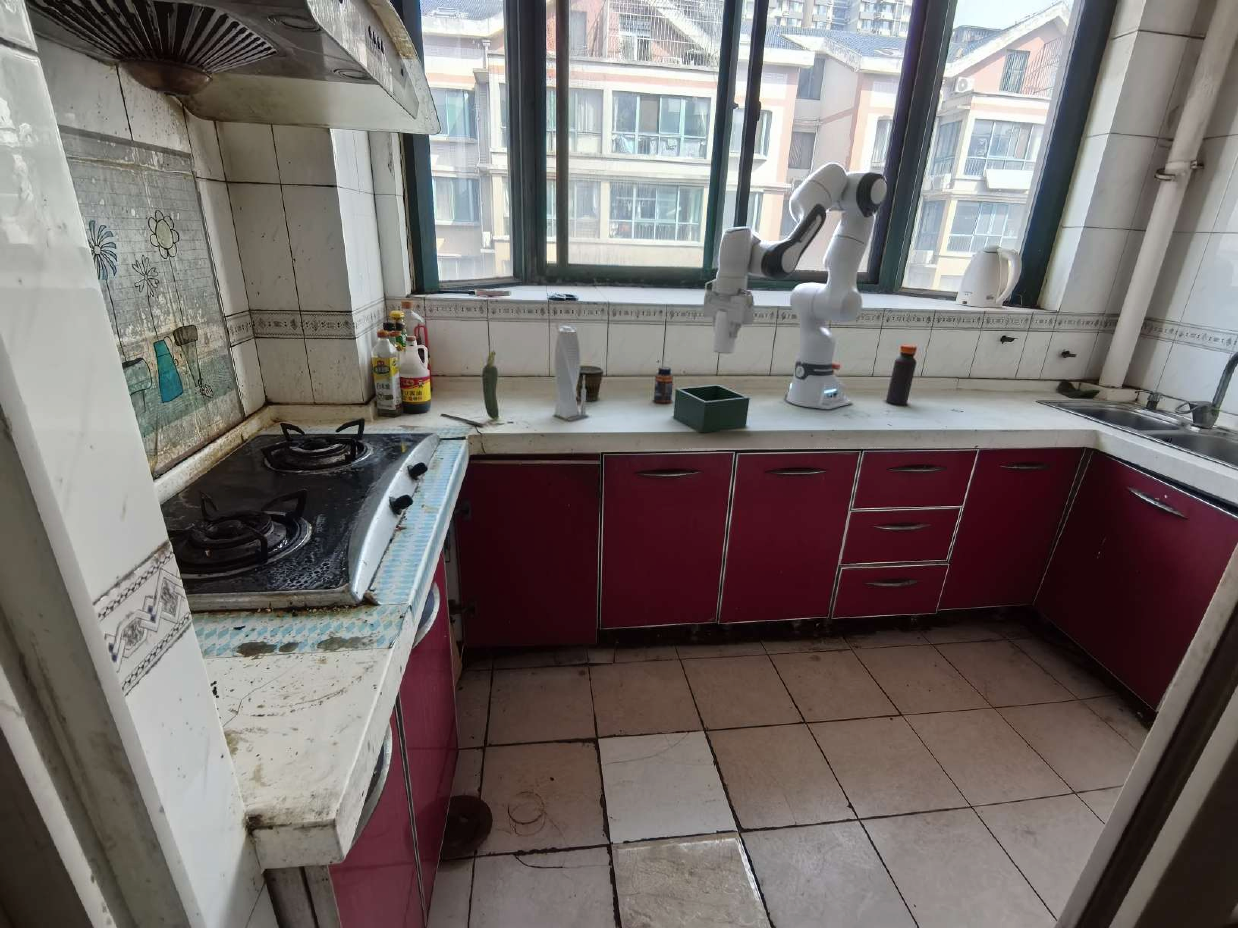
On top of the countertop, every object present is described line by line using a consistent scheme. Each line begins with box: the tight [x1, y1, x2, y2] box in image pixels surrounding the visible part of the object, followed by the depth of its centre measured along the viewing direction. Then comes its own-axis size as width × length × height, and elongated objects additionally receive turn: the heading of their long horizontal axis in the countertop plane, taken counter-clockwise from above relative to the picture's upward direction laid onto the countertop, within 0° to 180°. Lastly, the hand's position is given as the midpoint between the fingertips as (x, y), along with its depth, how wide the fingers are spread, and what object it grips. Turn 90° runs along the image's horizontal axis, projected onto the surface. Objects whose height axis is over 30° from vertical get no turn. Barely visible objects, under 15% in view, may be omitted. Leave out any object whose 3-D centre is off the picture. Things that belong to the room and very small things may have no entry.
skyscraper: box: [553, 321, 588, 422], centre depth 172 cm, size 8×8×28 cm
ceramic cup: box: [575, 365, 604, 402], centre depth 193 cm, size 13×10×10 cm
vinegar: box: [885, 344, 918, 406], centre depth 204 cm, size 7×7×20 cm
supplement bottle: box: [653, 366, 674, 404], centre depth 195 cm, size 6×6×11 cm
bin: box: [673, 384, 751, 434], centre depth 176 cm, size 16×16×9 cm
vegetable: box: [481, 350, 500, 421], centre depth 167 cm, size 4×4×20 cm
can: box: [712, 310, 737, 355], centre depth 174 cm, size 6×6×12 cm
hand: (724, 335), depth 175 cm, fingers closed on can, 6 cm apart
